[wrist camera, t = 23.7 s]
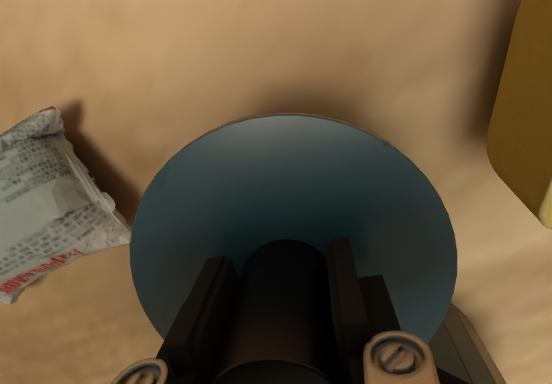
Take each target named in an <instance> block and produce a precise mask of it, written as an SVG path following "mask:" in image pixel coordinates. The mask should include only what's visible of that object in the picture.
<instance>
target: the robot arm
mask: <svg viewBox="0 0 552 384" xmlns="http://www.w3.org/2000/svg"><path fill="white" fill-rule="evenodd" d="M326 256H327V267H328V277H329V288H330V299H331V310H332V320H333V328H334V334H335V340H336V345H337V350H338V355H339V360H340V365H341V370H342V373H343V375H344V378H345V382H346V384H470V383H468V382H466V381H464V380H462V379H460V378H458V377H456V376H454V375H452V374H450V373H448V372H446V371H444V370H442V369H440V368H438V367H436V366H435V363H434V359H433V356H432V352H431V350H430V348H429V346H428V345H427V344H426V343H425V342H424V341H423V340H422V339H421V338H419V337H417V336H416V335H414V334H411V333H408V332H404V331H401V328H400V325H399V322H398V319H397V316H396V313H395V310H394V307H393V304H392V301H391V298H390V295H389V293H388V290H387V287H386V284H385V281H384V278H383V275H382V274H381V275H373V276H366V277H359V278H358V276H357V272H356V267H355V263H354V258H353V254H352V249H351V245H350V240H349V237H344V238H338V239H332V244H328V245H326ZM238 286H239V281H238V278H237V274H236V271H235V268H234V264H233V261H232V260H231V259H229V260H227V258H226V257H225V256H219V257H213V258H207V260H206V262H205V264H204V266H203V268H202V270H201V272H200V274H199V276H198V278H197V280H196V282H195V284H194V286H193V288H192V290H191V292H190V294H189V296H188V298H187V300H186V301H185V302H184V303H183V305H182V306H181V308H180V310H179V312H178V314H177V316H176V318H175V320H174V322H173V324H172V326H171V328H170V330H169V332H168V334H167V336H166V338H165V340H164V342H163V344H162V346H161V348H160V350H159V352H158V354H157V356H156V358H147V359H144V360H140V361H138V362H136V363H134V364H132V365H130V366H128V367H127V368H125V369H124V370H123V371H121V372H120V373H119V374H118V375H117V376H116V378H115V379H114V380H113V382H112V383H111V384H209V383H210V379H211V376H212V373H213V369H214V366H215V363H216V359H217V356H218V353H219V349H220V346H221V343H222V339H223V336H224V333H225V329H226V326H227V323H228V319H229V316H230V313H231V309H232V306H233V303H234V299H235V296H236V293H237V289H238Z"/></svg>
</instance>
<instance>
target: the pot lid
mask: <svg viewBox="0 0 552 384" xmlns="http://www.w3.org/2000/svg"><path fill="white" fill-rule="evenodd" d="M344 237H349V240H350V245H351V249H352V254H353V258H354V263H355V267H356V272H357V276H358V278H359V277H366V276H373V275H381V274H382V275H383V278H384V281H385V284H386V287H387V290H388V293H389V295H390V298H391V301H392V304H393V307H394V310H395V313H396V316H397V319H398V322H399V325H400V328H401V331H404V332H408V333H411V334H414V335H416V336H417V337H419V338H421V339H422V340H423V341H424V342H425V343H426V344H427V343H428V342H429V340H430V339H431V338H432V336H433V335H434V333H435V332H436V331H437V329H438V328H439V326H440V324H441V322H442V320H443V318H444V316H445V314H446V312H447V311H448V308H449V305H450V302H451V299H452V296H453V293H454V287H455V282H456V276H457V248H456V241H455V234H454V231H453V228H452V224H451V221H450V218H449V215H448V213H447V210H446V208H445V206H444V204H443V202H442V200H441V198H440V196H439V194H438V193H437V192H436V190H435V189H434V187H433V186H432V184H431V183H430V181H429V180H428V179H427V177H426V176H425V175H424V174H423V173H422V172H421V171H420V170H419V169H418V168H417V167H416V165H415V164H414V163H413V162H412V161H411V160H410V159H409V158H408V157H407V156H406V155H404V154H403V153H402V152H400V151H399V150H398V149H397V148H395V147H394V146H393V145H392V144H390V143H389V142H387V141H386V140H384V139H382V138H381V137H379V136H377V135H375V134H374V133H372V132H370V131H368V130H366V129H364V128H361V127H359V126H356V125H354V124H352V123H349V122H347V121H343V120H339V119H335V118H332V117H328V116H324V115H317V114H309V113H301V112H275V113H268V114H261V115H254V116H249V117H246V118H242V119H239V120H235V121H231V122H229V123H226V124H224V125H222V126H219V127H217V128H215V129H212V130H210V131H208V132H207V133H205V134H203V135H202V136H200V137H198V138H197V139H195V140H194V141H192V142H190V143H189V144H188V145H186V146H185V147H184V148H183V149H182V150H180V151H179V152H178V153H177V154H176V155H174V156H173V157H172V158H171V159H170V160H169V161H168V162H167V163H166V164H165V165H164V166H163V168H162V169H161V170H160V171H159V172H158V173H157V174H156V176H155V177H154V179H153V180H152V182H151V183H150V185H149V186H148V188H147V189H146V191H145V193H144V195H143V197H142V200H141V202H140V204H139V206H138V208H137V211H136V215H135V219H134V222H133V226H132V232H131V240H130V265H131V271H132V277H133V282H134V286H135V289H136V292H137V295H138V298H139V300H140V303H141V305H142V307H143V309H144V311H145V313H146V315H147V317H148V318H149V320H150V321H151V323H152V324H153V326H154V328H155V329H156V331H157V332H158V333H159V334H160V335H161V337H162V338H163V339H164V340H165V338H166V336H167V334H168V332H169V330H170V328H171V326H172V324H173V322H174V320H175V318H176V316H177V314H178V312H179V310H180V308H181V306H182V305H183V303H184V302H185V301H186V300H187V298H188V296H189V294H190V292H191V290H192V288H193V286H194V284H195V282H196V280H197V278H198V276H199V274H200V272H201V270H202V268H203V266H204V264H205V262H206V260H207V258H213V257H219V256H225V257H226V258H227V260H229V259H231V260H232V261H233V264H234V268H235V271H236V274H237V278H238V281H239V286H238V289H237V293H236V296H235V299H234V303H233V306H232V309H231V313H230V316H229V319H228V323H227V326H226V329H225V333H224V336H223V339H222V343H221V346H220V349H219V353H218V356H217V359H216V363H215V366H214V369H213V373H212V376H211V379H210V383H209V384H346V382H345V378H344V375H343V373H342V370H341V365H340V360H339V355H338V350H337V345H336V340H335V334H334V328H333V320H332V310H331V299H330V288H329V277H328V267H327V256H326V245H328V244H332V239H338V238H344Z"/></svg>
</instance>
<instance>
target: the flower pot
mask: <svg viewBox="0 0 552 384" xmlns="http://www.w3.org/2000/svg"><path fill="white" fill-rule="evenodd" d="M487 152H488V157H489V161H490V163H491V165H492V167H493V169H494V170H495V172H496V173H497V174H498V176H499V177H500V178H501V179H502V180H503V181H504V182H505V184H506V185H507V186H508V187H509V188H510V189H511V190H512V191H513V192H514V194H515V195H516V196H517V197H518V198H519V199H520V200H521V201H522V202H523V203H524V204H525V205H526V207H527V208H528V209H529V210H530V211H531V212H532V213H533V214H534V215H535V216H536V217H537V219H538V220H539V221H540V222H541V223H542V224H543V226H545V227H547V228H551V229H552V0H522V2H521V4H520V7H519V10H518V12H517V16H516V19H515V22H514V26H513V30H512V34H511V39H510V43H509V47H508V51H507V56H506V60H505V64H504V68H503V72H502V76H501V80H500V84H499V88H498V92H497V96H496V100H495V104H494V108H493V112H492V116H491V120H490V124H489V128H488V134H487Z"/></svg>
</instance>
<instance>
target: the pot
mask: <svg viewBox="0 0 552 384" xmlns="http://www.w3.org/2000/svg"><path fill="white" fill-rule="evenodd" d="M427 345H428V346H429V348H430V350H431V352H432V356H433V359H434V363H435V366H436V367H438V368H440V369H442V370H444V371H446V372H448V373H450V374H452V375H454V376H456V377H458V378H460V379H462V380H464V381H466V382H468V383H470V384H506V382H505V380H504V378H503V377H502V375H501V373H500V372H499V370H498V368H497V366H496V365H495V363H494V361H493V360H492V358H491V356H490V354H489V353H488V351H487V349H486V347H485V346H484V344H483V342H482V341H481V339H480V337H479V335H478V334H477V332H476V330H475V329H474V327H473V325H472V324H471V323H470V321H469V320H468V319H467V317H466V316H465V315H464V314H463V313H462V312H461V311H460V310H459V309H457V308H456V307H455V306H453V305H452V304H450V305H449V308H448V311H447V312H446V314H445V316H444V318H443V320H442V322H441V324H440V326H439V328H438V329H437V331H436V332H435V333H434V335H433V336H432V338H431V339H430V340H429V342H428V343H427Z"/></svg>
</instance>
